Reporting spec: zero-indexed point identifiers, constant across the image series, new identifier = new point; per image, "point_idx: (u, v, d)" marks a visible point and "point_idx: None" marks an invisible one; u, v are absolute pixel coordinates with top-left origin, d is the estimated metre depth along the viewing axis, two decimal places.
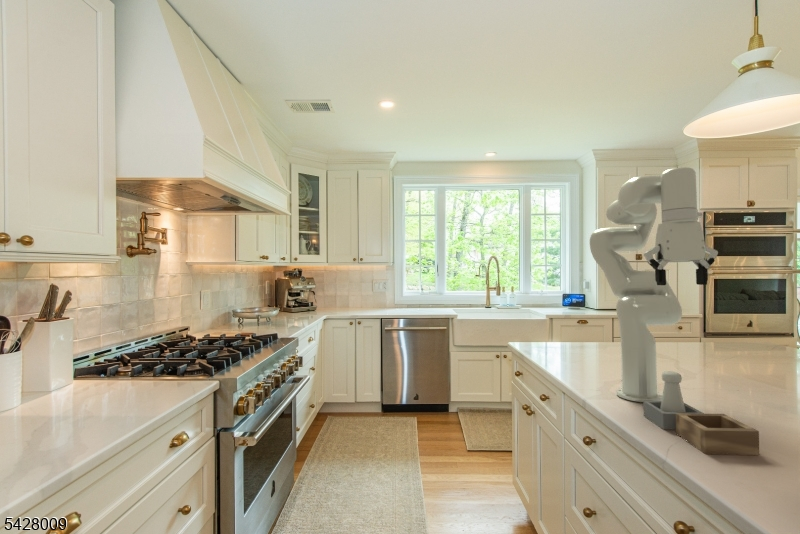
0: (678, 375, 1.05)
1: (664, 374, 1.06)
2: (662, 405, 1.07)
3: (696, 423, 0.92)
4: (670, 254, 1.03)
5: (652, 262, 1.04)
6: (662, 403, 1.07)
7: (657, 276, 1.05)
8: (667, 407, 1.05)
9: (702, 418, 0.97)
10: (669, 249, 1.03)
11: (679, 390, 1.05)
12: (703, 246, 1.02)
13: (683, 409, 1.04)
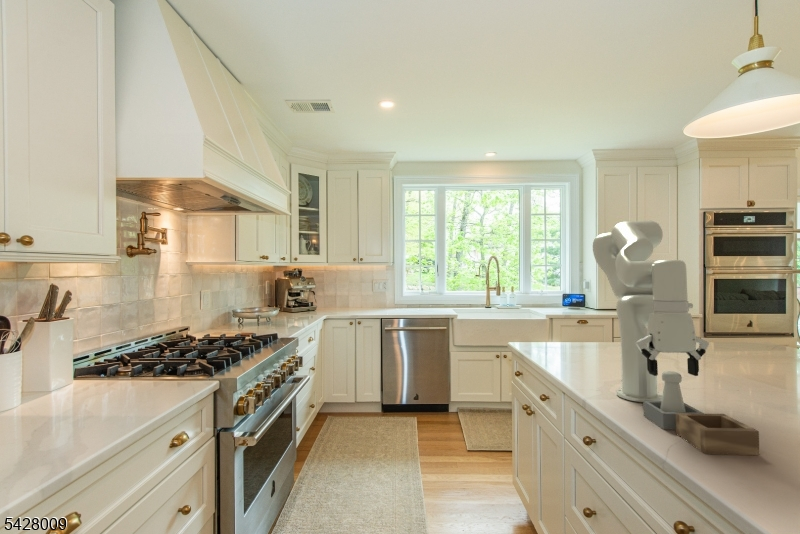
0: (678, 375, 1.05)
1: (664, 374, 1.06)
2: (662, 405, 1.07)
3: (696, 423, 0.92)
4: (661, 345, 1.04)
5: (644, 352, 1.06)
6: (662, 403, 1.07)
7: (649, 366, 1.06)
8: (667, 407, 1.05)
9: (702, 418, 0.97)
10: (660, 340, 1.04)
11: (679, 390, 1.05)
12: (694, 338, 1.04)
13: (683, 409, 1.04)
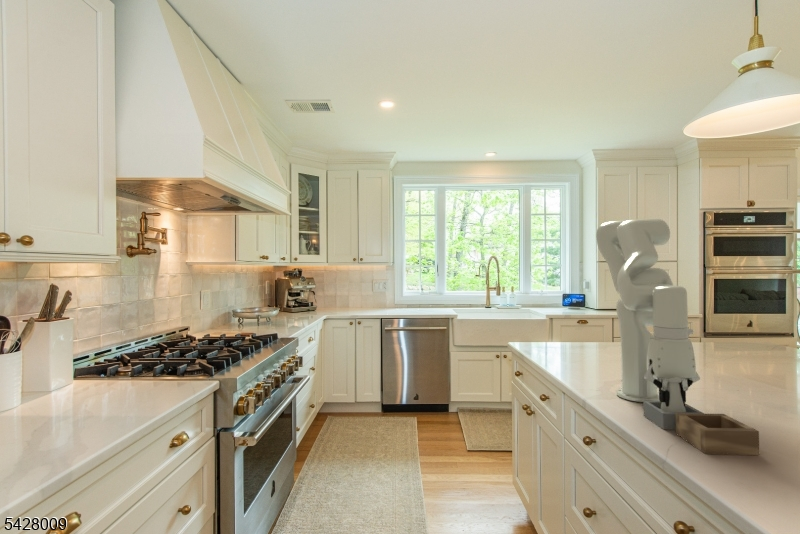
0: None
1: None
2: (662, 405, 1.06)
3: (696, 423, 0.92)
4: (661, 372, 1.05)
5: (656, 383, 1.06)
6: (662, 403, 1.07)
7: (661, 396, 1.06)
8: (667, 407, 1.05)
9: (702, 418, 0.97)
10: (660, 367, 1.05)
11: (679, 390, 1.05)
12: (694, 365, 1.04)
13: (683, 409, 1.04)
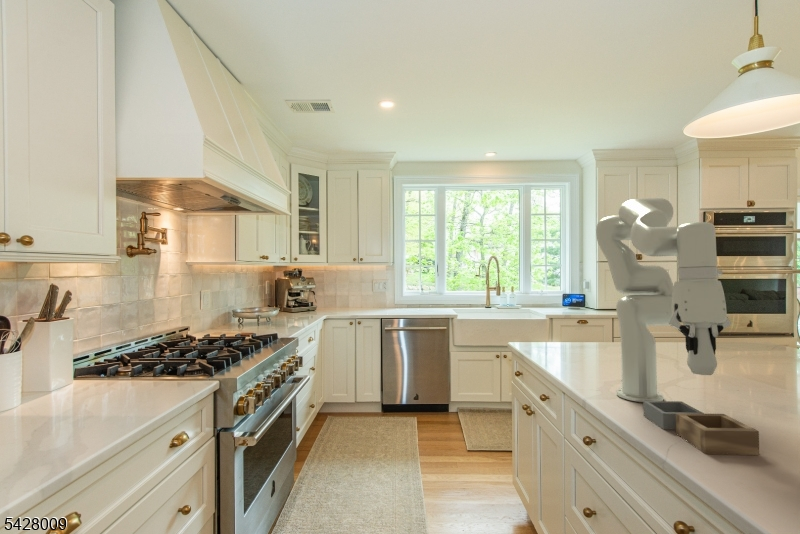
0: None
1: None
2: (690, 354, 0.97)
3: (696, 423, 0.92)
4: (688, 316, 0.95)
5: (682, 329, 0.96)
6: (690, 352, 0.97)
7: (688, 344, 0.97)
8: (696, 355, 0.95)
9: (702, 418, 0.97)
10: (687, 310, 0.95)
11: (709, 336, 0.95)
12: (724, 307, 0.94)
13: (714, 357, 0.94)
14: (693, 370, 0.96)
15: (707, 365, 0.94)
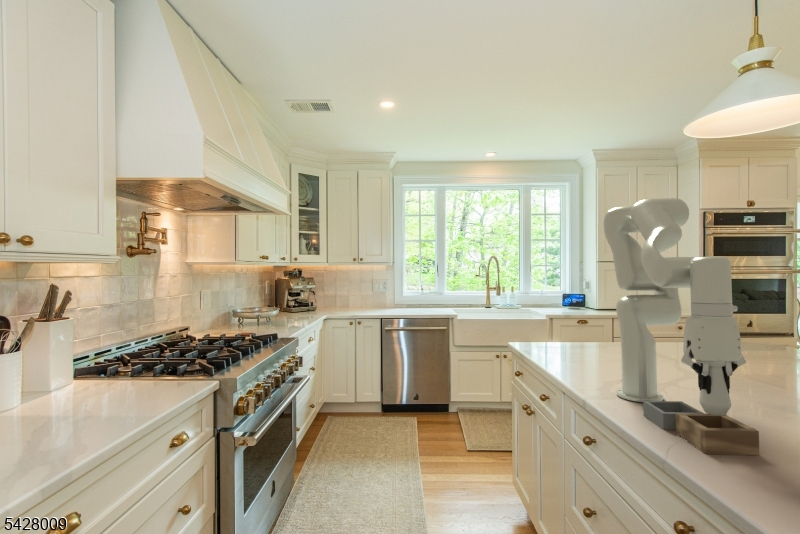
0: None
1: None
2: (703, 392, 0.93)
3: (696, 423, 0.92)
4: (702, 354, 0.92)
5: (695, 367, 0.93)
6: (702, 390, 0.93)
7: (701, 382, 0.93)
8: (709, 395, 0.92)
9: (702, 418, 0.97)
10: (701, 348, 0.92)
11: (723, 375, 0.92)
12: (739, 346, 0.91)
13: (728, 397, 0.91)
14: (706, 409, 0.93)
15: (721, 406, 0.90)
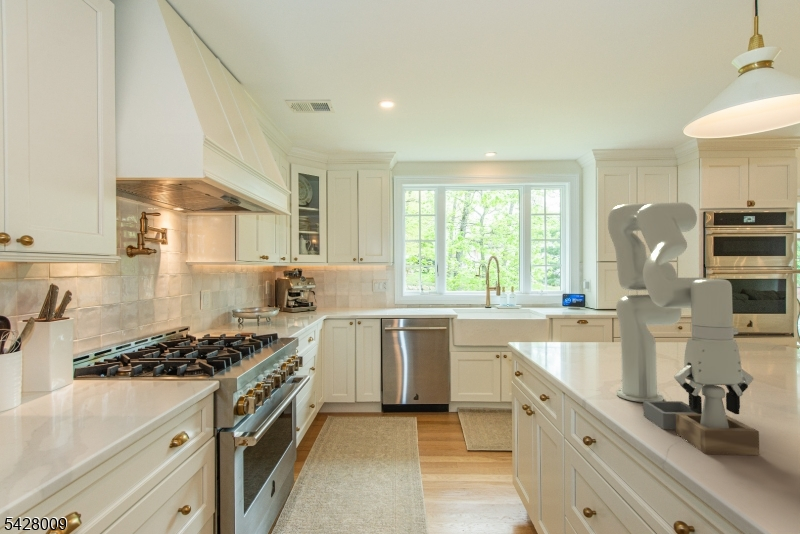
0: (721, 389, 0.92)
1: (705, 388, 0.93)
2: (702, 423, 0.94)
3: (696, 423, 0.92)
4: (702, 377, 0.92)
5: (686, 387, 0.93)
6: (702, 421, 0.94)
7: (691, 402, 0.93)
8: (709, 426, 0.92)
9: None
10: (701, 371, 0.92)
11: (722, 406, 0.92)
12: (740, 369, 0.91)
13: None
14: None
15: None
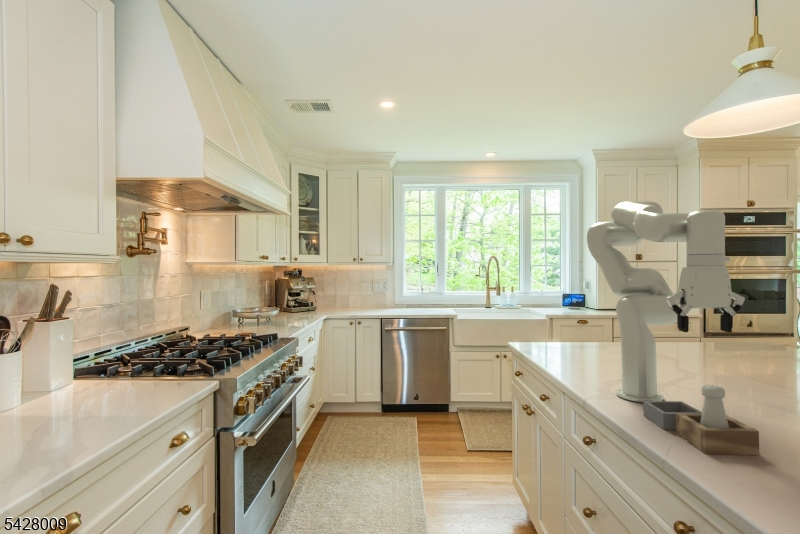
0: (721, 390, 0.92)
1: (705, 388, 0.93)
2: (702, 423, 0.94)
3: (696, 423, 0.92)
4: (694, 301, 0.99)
5: (674, 308, 1.01)
6: (702, 421, 0.94)
7: (679, 322, 1.02)
8: (709, 426, 0.92)
9: None
10: (693, 296, 0.99)
11: (722, 407, 0.92)
12: (729, 293, 0.98)
13: None
14: None
15: None
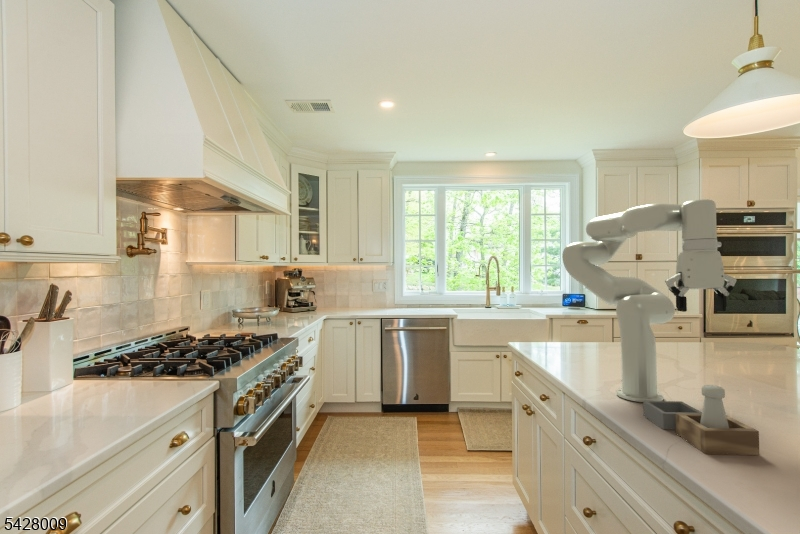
0: (721, 389, 0.92)
1: (705, 388, 0.93)
2: (702, 423, 0.94)
3: (696, 423, 0.92)
4: (691, 282, 1.08)
5: (673, 289, 1.10)
6: (702, 421, 0.94)
7: (678, 302, 1.10)
8: (709, 426, 0.92)
9: None
10: (690, 277, 1.08)
11: (722, 407, 0.92)
12: (722, 275, 1.07)
13: None
14: None
15: None
